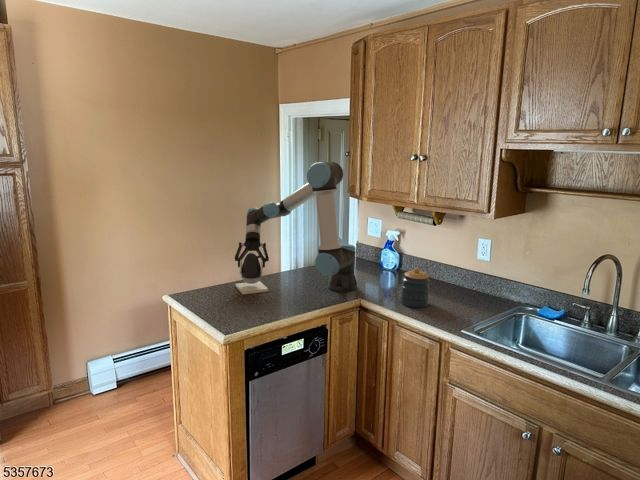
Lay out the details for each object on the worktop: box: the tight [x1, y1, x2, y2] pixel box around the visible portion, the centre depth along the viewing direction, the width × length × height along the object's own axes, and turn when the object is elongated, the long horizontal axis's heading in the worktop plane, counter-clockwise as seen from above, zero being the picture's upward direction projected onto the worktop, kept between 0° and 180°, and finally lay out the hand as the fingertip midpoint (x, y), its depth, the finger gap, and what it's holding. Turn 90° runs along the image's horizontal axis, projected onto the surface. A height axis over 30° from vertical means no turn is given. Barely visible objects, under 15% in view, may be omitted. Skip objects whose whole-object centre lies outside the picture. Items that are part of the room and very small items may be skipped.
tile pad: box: [235, 280, 269, 295], centre depth 223 cm, size 13×13×2 cm
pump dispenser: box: [240, 252, 263, 284], centre depth 221 cm, size 10×10×15 cm
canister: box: [400, 267, 431, 309], centre depth 209 cm, size 13×13×18 cm
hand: (251, 272), depth 218 cm, fingers closed on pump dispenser, 10 cm apart
